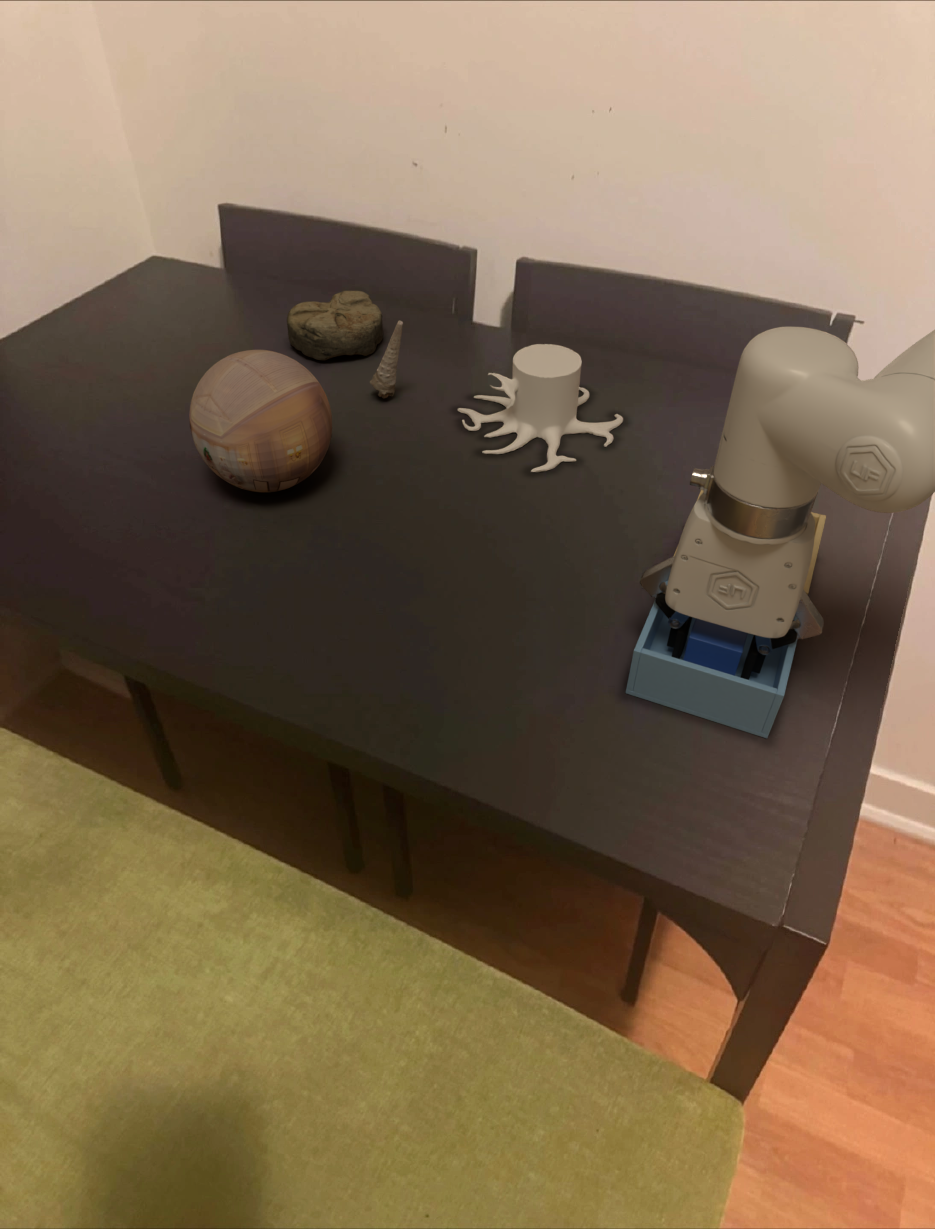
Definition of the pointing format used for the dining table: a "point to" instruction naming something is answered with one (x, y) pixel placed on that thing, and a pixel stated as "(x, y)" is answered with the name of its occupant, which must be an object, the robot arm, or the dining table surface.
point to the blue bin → (708, 681)
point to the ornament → (260, 420)
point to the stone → (336, 326)
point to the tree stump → (541, 402)
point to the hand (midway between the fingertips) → (712, 660)
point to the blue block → (715, 646)
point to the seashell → (388, 365)
